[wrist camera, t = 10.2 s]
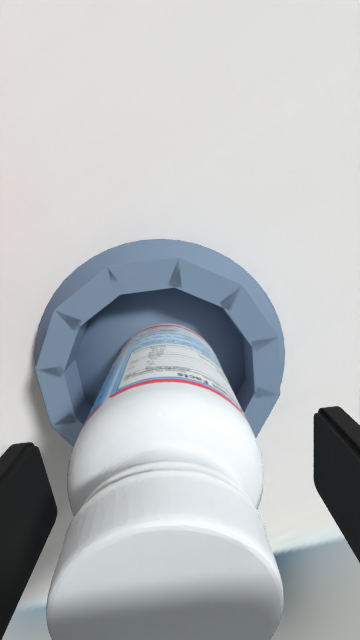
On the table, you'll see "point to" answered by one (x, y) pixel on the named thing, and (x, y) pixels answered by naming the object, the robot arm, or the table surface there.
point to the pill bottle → (165, 506)
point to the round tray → (150, 309)
